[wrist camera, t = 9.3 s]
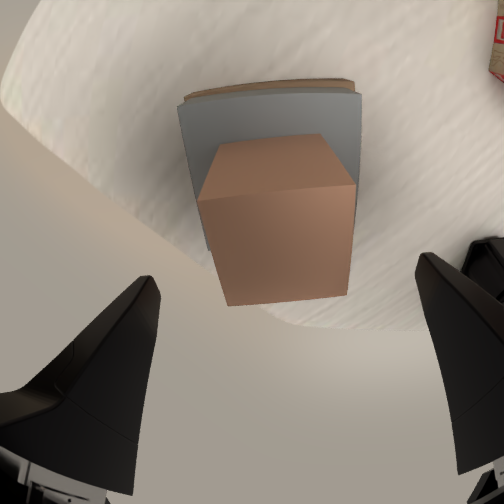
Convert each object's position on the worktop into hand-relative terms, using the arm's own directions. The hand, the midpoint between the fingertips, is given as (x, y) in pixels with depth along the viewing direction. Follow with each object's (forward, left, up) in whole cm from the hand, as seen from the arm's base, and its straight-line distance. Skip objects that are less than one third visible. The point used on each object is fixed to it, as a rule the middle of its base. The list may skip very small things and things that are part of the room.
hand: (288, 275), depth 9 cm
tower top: (0, 0, -10) cm, 10 cm away
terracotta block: (0, 0, -7) cm, 7 cm away
